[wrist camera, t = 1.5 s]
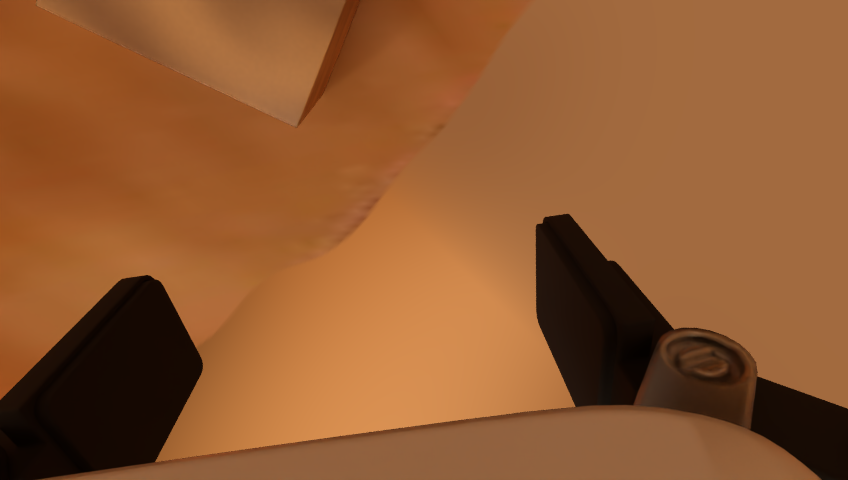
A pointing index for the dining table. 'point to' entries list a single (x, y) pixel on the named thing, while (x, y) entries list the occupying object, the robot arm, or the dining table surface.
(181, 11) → the cabinet
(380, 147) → the dining table surface
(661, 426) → the robot arm
